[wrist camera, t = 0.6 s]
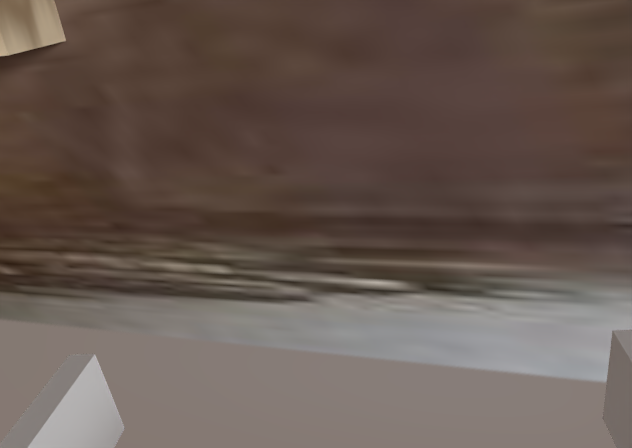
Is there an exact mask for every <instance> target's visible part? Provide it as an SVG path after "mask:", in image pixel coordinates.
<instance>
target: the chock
mask: <svg viewBox="0 0 632 448" xmlns="http://www.w3.org/2000/svg"><path fill="white" fill-rule="evenodd" d="M63 41H66V39H65V36H64V32H63V29H62V25H61V22H60V19H59V15H58V12H57V8H56V5H55V2H54V0H0V56H8V55H12V54H16V53H20V52H24V51H28V50H32V49H36V48H40V47H44V46H48V45H52V44H56V43H59V42H63Z"/></svg>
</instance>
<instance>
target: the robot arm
mask: <svg viewBox="0 0 632 448" xmlns="http://www.w3.org/2000/svg"><path fill="white" fill-rule="evenodd" d="M603 420H604V422H605V424H606V426H607V428H608V430H609V433H610V435H611V437H612V439H613V441H614V443H615V445H616V447H617V448H632V330H616V331H613V332H612V341H611V350H610V358H609V367H608V376H607V385H606V394H605V402H604V412H603ZM123 430H124V425H123V423H122V420H121V418H120V415H119V413H118V410H117V408H116V406H115V403H114V400H113V398H112V395H111V393H110V390H109V388H108V385H107V383H106V380H105V378H104V375H103V373H102V370H101V368H100V365H99V363H98V360H97V358H96V356H95V354H81V355H69V356H68V357H67V359H66V360H65V361H64V362H63V364H62V365H61V366H60V367H59V369H58V370H57V371H56V373H55V374H54V375H53V376H52V378H51V379H50V380H49V382H48V383H47V384H46V385H45V387H44V388H43V389H42V391H41V392H40V393H39V394H38V396H37V397H36V398H35V400H34V401H33V402H32V403H31V405H30V406H29V407H28V409H27V410H26V411H25V412H24V414H23V415H22V416H21V418H20V419H19V420H18V422H17V423H16V424H15V425H14V426H13V428H12V429H11V431H10V432H9V433H8V434H7V436H6V437H5V438H4V439H3V441H2V442H1V443H0V448H114V447H115V445H116V443H117V441H118V439H119V437H120V436H121V434H122V432H123Z"/></svg>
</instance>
